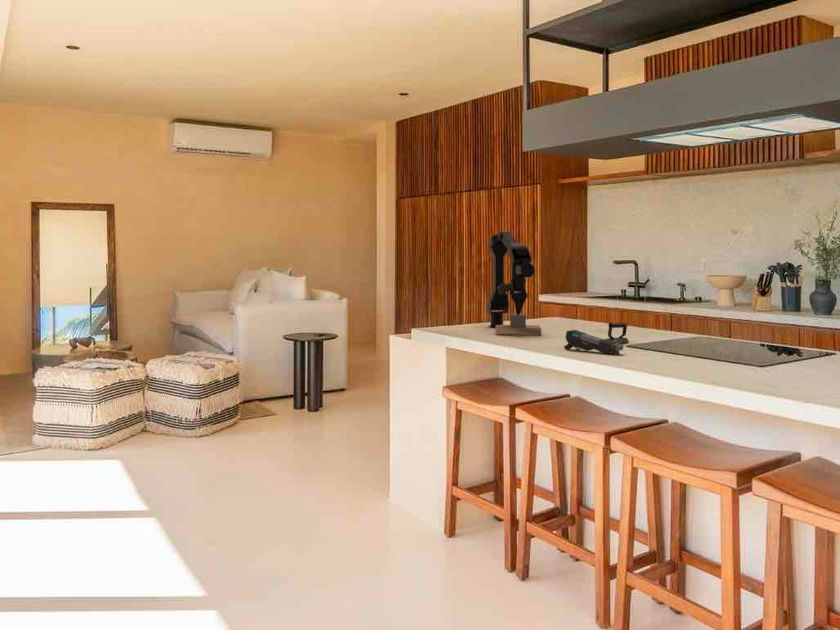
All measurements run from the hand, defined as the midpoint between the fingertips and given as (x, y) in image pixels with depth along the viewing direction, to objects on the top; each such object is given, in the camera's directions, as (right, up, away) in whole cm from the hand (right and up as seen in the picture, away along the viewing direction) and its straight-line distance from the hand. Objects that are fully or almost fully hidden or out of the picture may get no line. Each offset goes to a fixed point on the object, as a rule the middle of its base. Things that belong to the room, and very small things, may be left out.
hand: (518, 314), depth 299 cm
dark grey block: (0, -7, +1) cm, 7 cm away
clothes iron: (+34, -11, -27) cm, 45 cm away
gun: (+19, -13, -49) cm, 54 cm away
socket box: (0, -8, +1) cm, 8 cm away
